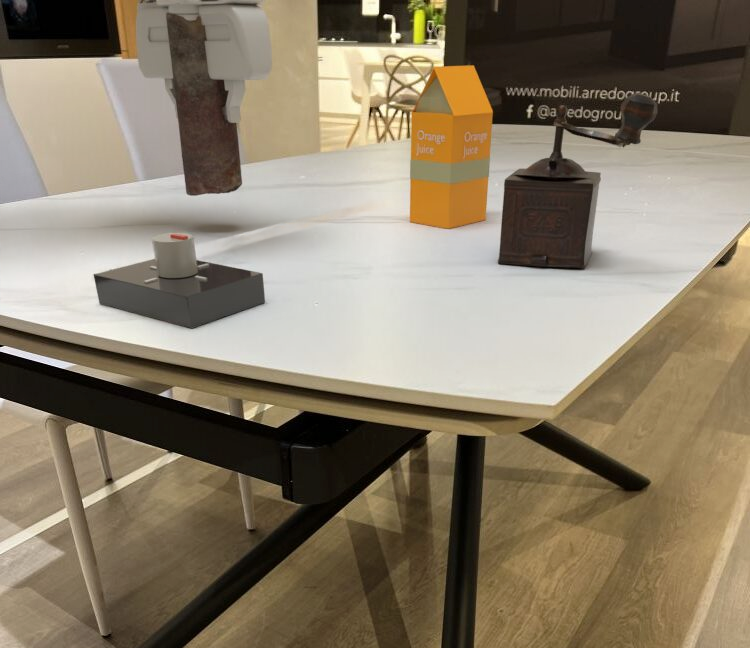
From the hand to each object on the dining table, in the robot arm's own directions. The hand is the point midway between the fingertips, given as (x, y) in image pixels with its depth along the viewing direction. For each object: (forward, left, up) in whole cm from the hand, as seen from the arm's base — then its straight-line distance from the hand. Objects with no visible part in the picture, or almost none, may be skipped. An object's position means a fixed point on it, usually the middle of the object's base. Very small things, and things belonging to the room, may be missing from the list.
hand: (208, 121), depth 94 cm
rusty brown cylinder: (0, 0, -9) cm, 9 cm away
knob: (+18, -23, -11) cm, 31 cm away
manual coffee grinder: (+43, +16, -15) cm, 48 cm away
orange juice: (+19, +28, -15) cm, 37 cm away
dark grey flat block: (+18, -23, -14) cm, 33 cm away
